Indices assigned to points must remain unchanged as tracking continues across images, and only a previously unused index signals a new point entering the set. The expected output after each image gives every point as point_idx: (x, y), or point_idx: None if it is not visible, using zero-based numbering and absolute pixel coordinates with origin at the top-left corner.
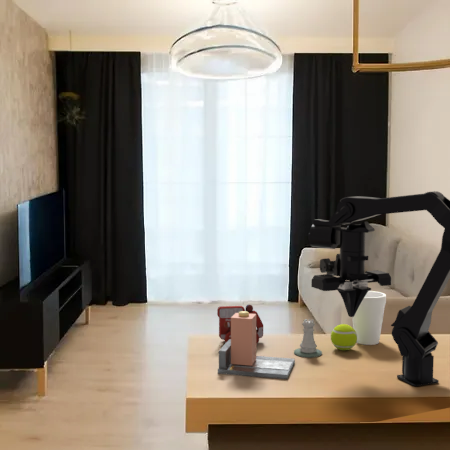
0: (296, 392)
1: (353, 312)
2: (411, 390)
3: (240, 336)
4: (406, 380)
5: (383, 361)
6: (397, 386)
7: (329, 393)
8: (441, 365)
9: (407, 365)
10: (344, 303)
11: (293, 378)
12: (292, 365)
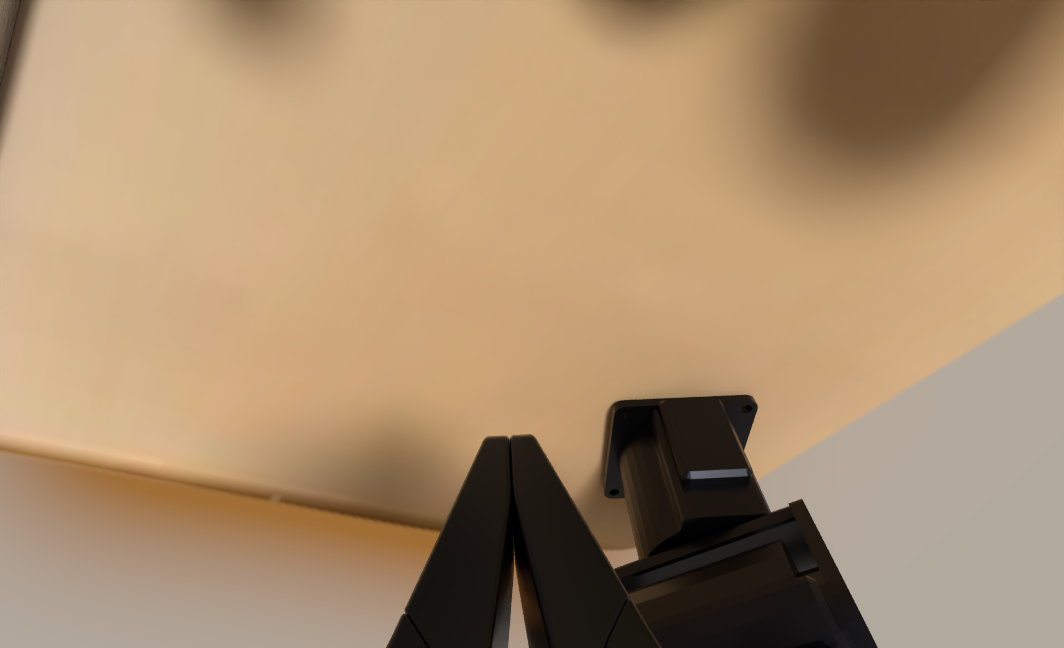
0: (22, 405)
1: (513, 543)
2: None
3: None
4: (608, 460)
5: (780, 158)
6: None
7: (198, 450)
8: (977, 330)
9: (630, 514)
10: (409, 602)
11: (14, 235)
12: (2, 25)
